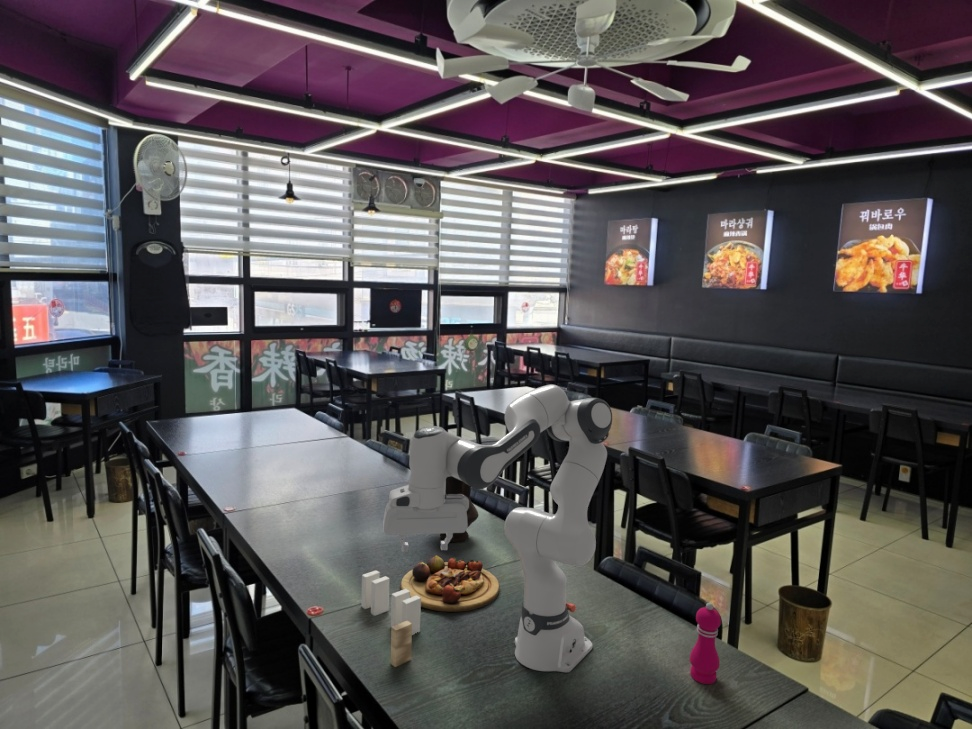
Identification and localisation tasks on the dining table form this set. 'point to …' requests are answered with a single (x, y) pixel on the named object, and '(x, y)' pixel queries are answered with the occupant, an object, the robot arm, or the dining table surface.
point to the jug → (460, 487)
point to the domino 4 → (401, 643)
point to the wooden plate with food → (451, 585)
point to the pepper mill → (705, 646)
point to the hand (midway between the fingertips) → (424, 550)
